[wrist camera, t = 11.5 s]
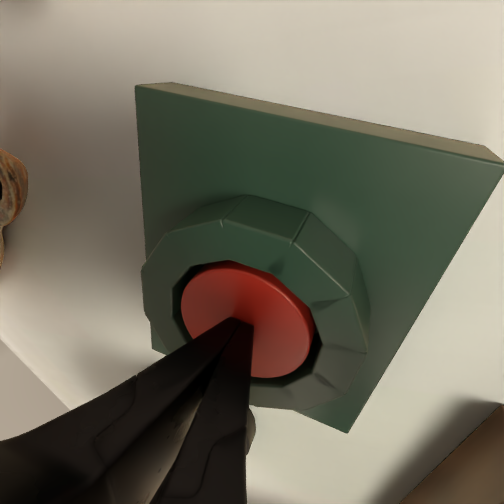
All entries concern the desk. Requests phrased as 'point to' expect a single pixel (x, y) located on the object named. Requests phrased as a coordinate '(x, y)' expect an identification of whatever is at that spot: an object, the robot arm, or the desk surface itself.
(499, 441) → the dimmer panel
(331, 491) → the desk surface
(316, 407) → the switch block
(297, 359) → the button
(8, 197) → the oil lamp
